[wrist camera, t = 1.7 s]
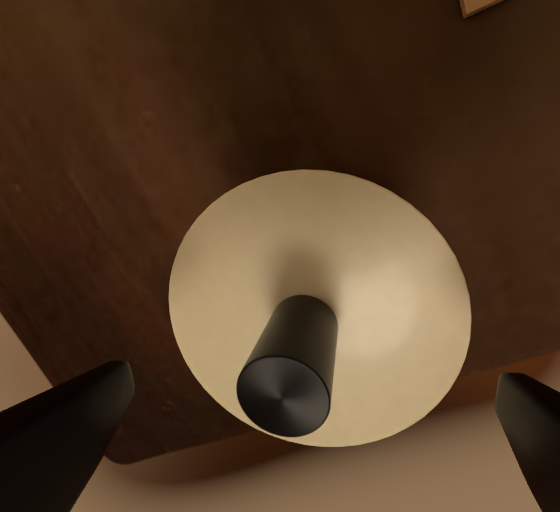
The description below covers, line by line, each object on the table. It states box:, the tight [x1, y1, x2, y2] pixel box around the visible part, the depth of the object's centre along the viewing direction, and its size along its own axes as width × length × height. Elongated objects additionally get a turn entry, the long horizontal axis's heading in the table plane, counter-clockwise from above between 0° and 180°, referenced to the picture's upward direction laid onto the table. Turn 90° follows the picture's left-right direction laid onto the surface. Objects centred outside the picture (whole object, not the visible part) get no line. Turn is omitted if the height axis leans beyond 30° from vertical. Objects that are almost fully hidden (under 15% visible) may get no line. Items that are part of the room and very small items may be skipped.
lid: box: [169, 169, 471, 447], centre depth 10 cm, size 11×11×5 cm
